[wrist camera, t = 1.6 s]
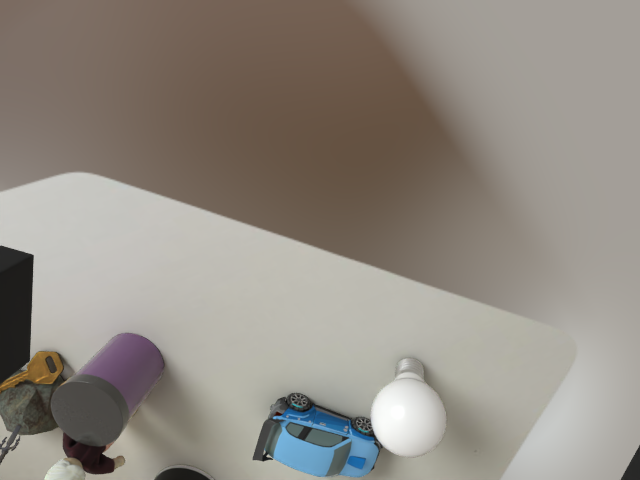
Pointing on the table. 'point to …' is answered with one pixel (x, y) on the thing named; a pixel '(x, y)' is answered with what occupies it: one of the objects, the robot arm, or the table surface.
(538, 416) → the table surface
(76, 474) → the grandmother figurine
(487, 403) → the table surface
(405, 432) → the lightbulb
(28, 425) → the sword in stone
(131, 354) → the jar
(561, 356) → the table surface
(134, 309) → the table surface
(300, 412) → the toy car
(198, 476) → the flashlight
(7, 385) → the key
